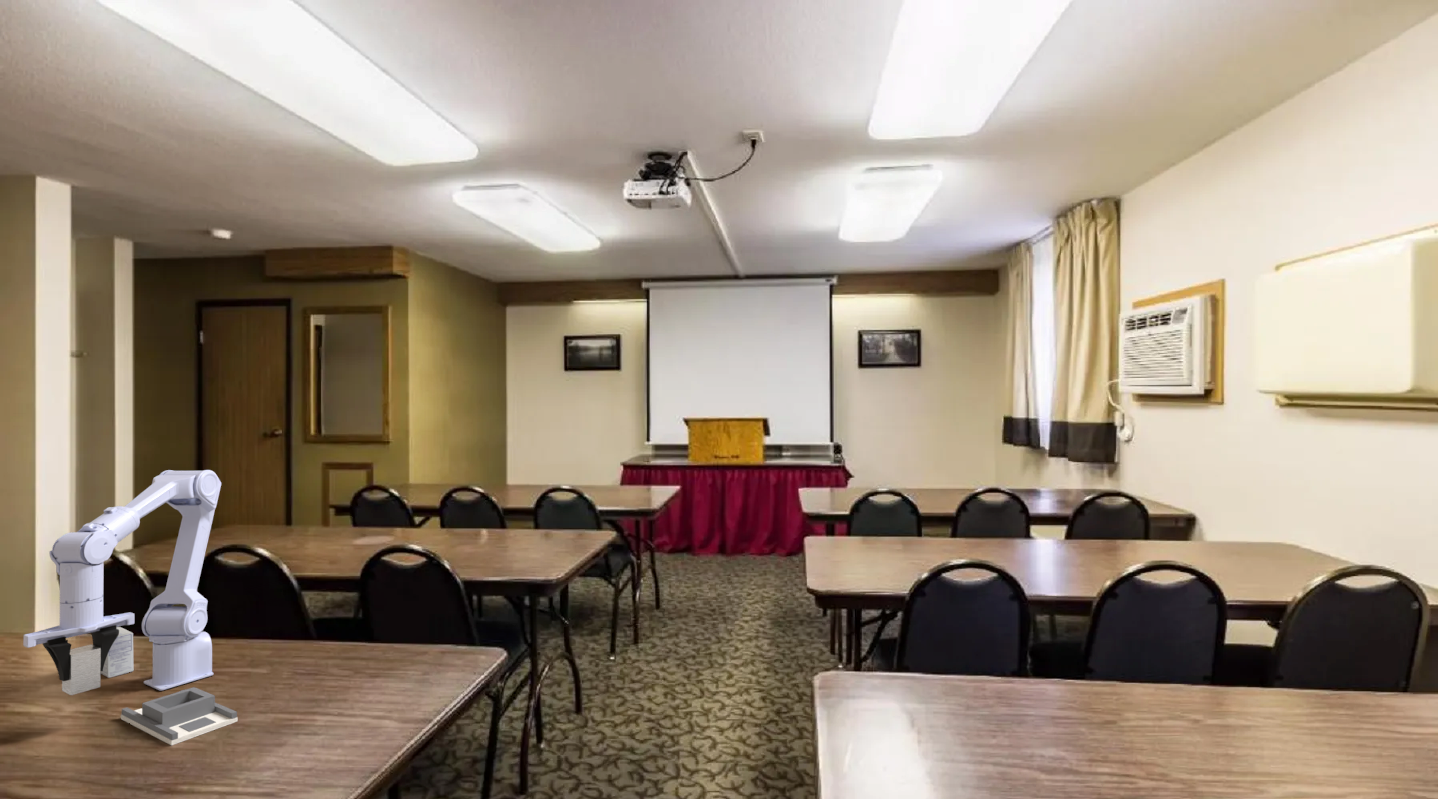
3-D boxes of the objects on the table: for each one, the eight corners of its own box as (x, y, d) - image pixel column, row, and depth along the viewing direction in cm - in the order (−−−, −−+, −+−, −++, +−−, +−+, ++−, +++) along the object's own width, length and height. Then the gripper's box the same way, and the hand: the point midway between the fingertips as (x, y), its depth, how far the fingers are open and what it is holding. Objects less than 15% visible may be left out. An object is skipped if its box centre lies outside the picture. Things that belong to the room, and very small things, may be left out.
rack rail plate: (185, 698, 132) (185, 679, 132) (237, 721, 122) (237, 700, 122) (120, 719, 123) (120, 698, 123) (171, 745, 114) (171, 722, 114)
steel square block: (91, 682, 123) (91, 644, 123) (100, 687, 121) (100, 648, 121) (62, 690, 119) (62, 651, 120) (70, 695, 117) (71, 655, 118)
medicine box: (134, 672, 146) (134, 632, 146) (107, 679, 142) (107, 638, 142) (120, 664, 150) (121, 626, 150) (94, 671, 146) (94, 631, 146)
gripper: (34, 613, 112) (33, 694, 112) (141, 592, 125) (141, 665, 125) (19, 607, 116) (18, 686, 115) (125, 587, 128) (125, 658, 128)
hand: (81, 675), depth 120 cm, fingers closed on steel square block, 4 cm apart
